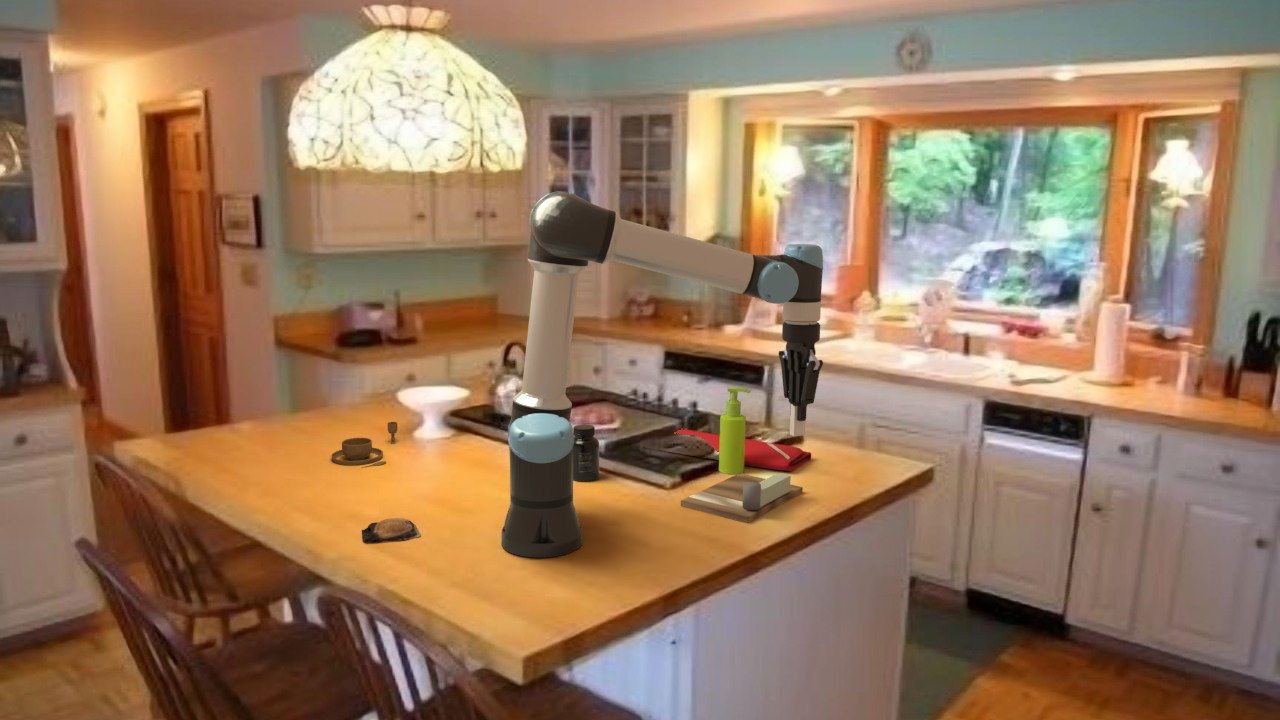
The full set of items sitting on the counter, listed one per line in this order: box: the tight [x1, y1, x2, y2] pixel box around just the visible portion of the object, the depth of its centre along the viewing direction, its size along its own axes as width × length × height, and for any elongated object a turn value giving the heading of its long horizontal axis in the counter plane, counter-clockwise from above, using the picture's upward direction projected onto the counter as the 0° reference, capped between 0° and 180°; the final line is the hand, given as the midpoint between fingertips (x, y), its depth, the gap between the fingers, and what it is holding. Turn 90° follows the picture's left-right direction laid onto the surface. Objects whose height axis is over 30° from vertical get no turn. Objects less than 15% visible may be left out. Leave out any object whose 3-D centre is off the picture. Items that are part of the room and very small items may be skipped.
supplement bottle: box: [573, 423, 600, 482], centre depth 214 cm, size 7×7×12 cm
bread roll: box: [361, 517, 422, 545], centre depth 180 cm, size 11×8×4 cm
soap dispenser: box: [718, 386, 752, 475], centre depth 220 cm, size 6×7×20 cm
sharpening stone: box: [742, 472, 791, 510], centre depth 197 cm, size 16×4×5 cm, turn 143°
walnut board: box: [680, 473, 804, 524], centre depth 202 cm, size 24×16×1 cm, turn 143°
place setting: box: [330, 421, 398, 469], centre depth 230 cm, size 18×20×6 cm
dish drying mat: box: [674, 428, 812, 472], centre depth 236 cm, size 16×41×4 cm, turn 58°
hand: (797, 434), depth 194 cm, fingers closed
